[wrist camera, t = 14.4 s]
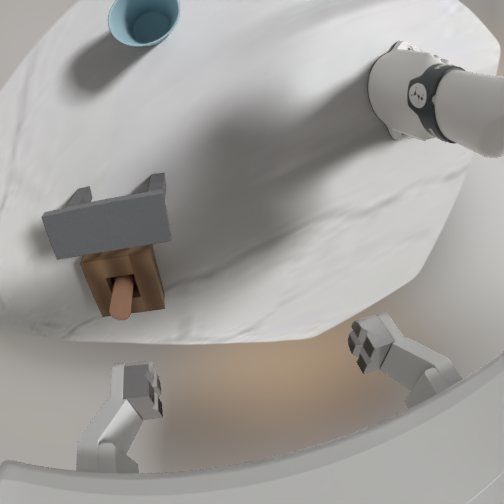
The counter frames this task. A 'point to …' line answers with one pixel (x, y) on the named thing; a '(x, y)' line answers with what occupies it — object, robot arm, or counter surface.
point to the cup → (143, 21)
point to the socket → (125, 263)
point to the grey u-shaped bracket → (109, 221)
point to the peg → (122, 297)
